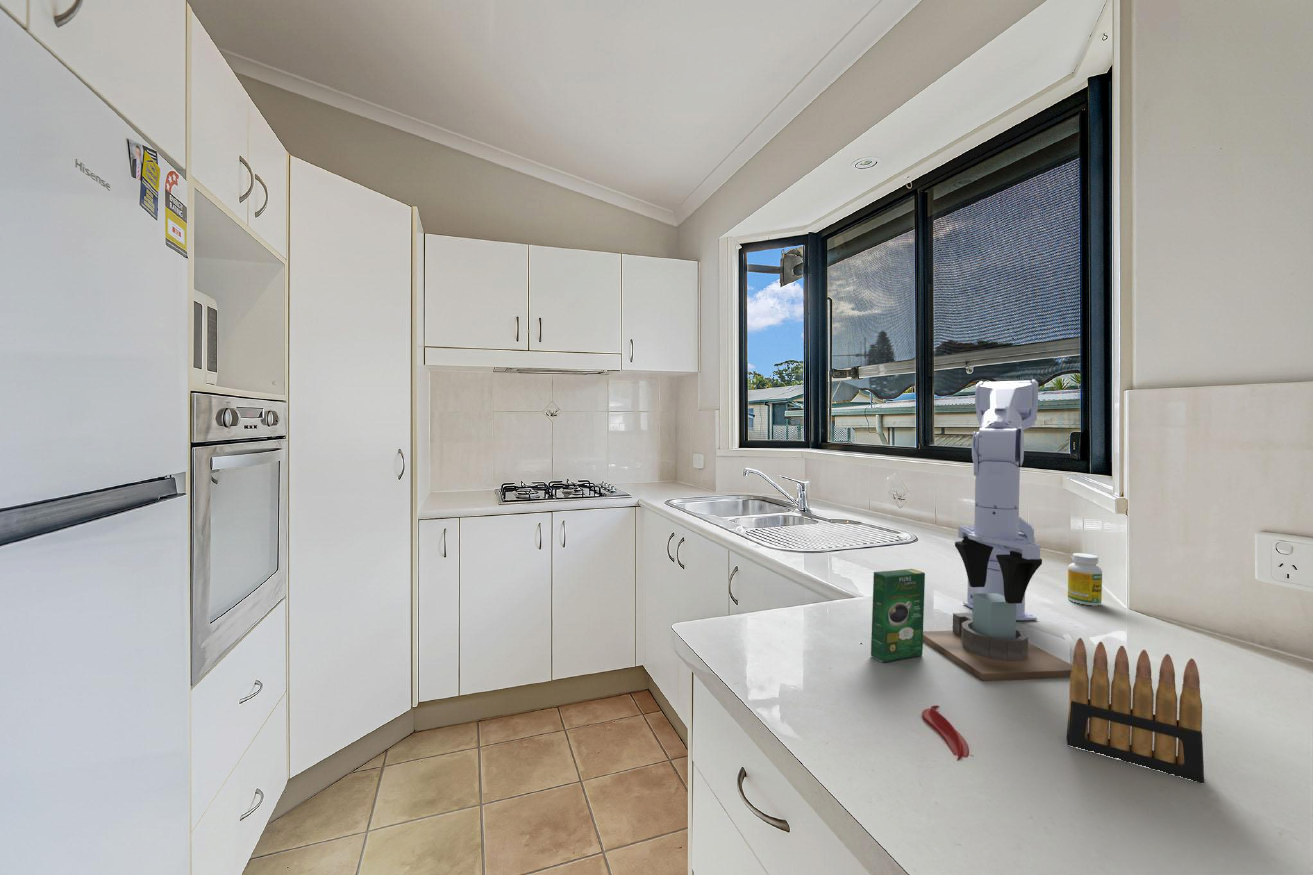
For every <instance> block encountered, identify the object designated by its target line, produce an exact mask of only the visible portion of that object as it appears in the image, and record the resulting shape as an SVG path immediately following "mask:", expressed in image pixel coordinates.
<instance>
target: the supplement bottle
mask: <svg viewBox="0 0 1313 875" xmlns="http://www.w3.org/2000/svg"><path fill="white" fill-rule="evenodd" d="M1098 564H1099V556H1098V555H1095V554H1090V553H1084V552H1082V553H1081V552H1074V553H1072V563H1070V564H1069V565H1068V568H1067V570H1068V571H1067V600H1069V601H1070V600H1071V601H1074V602H1076V603H1075V604H1077V603H1080V604H1079V605H1081V604H1087V605H1092V606H1091V607H1099V606H1101V605H1102V595H1103V594H1102V592H1103V570H1102V568H1101V567H1100V566H1098ZM1071 601H1070V602H1071ZM1074 602H1073V603H1074ZM1098 605H1099V606H1098Z"/></svg>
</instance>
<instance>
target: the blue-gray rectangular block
mask: <svg viewBox="0 0 1313 875" xmlns="http://www.w3.org/2000/svg"><path fill="white" fill-rule="evenodd" d="M972 614H973V624H972V630H973V631H975V632H977V633H980V634H983V635H986V636H990V637H996V638H1002V639H1016V628H1017V620H1016V603H1014V604H1009V603H1007V602H1006V601H1005V597H1004V596H1002V595H1000V594H998V593H982V594H973V609H972Z"/></svg>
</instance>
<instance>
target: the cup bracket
mask: <svg viewBox="0 0 1313 875" xmlns="http://www.w3.org/2000/svg"><path fill="white" fill-rule="evenodd" d="M972 624H973V612H956V613H954V612H952V630H933V631H932V630H929V631H924V630H923V643H926V644H928V645H929V646H930V647H932V648H933V649H934V650H936V651H938V652H939V653H941V654H942V655H944V656H945V657H946V658H948V659H949V660H951V661H953V663H955V664H957V665H958V666H960V667H961V668H963V669H964V670H966V671H967V672H968V673H970V674H972V675H973V676H974V677H976V678H977V679H979V680H981V681H983V682H987V681H989V682H990V681H991V682H992V681H1011V680H1033V679H1034V680H1037V679H1038V680H1039V679H1055V678H1056V679H1059V678H1060V679H1061V678H1070V674H1071V671H1072V664H1071V663H1070V662H1067V661H1066V660H1063V659H1062V658H1060V657H1058V656H1056V655H1054V654H1052V653H1050V652H1048V651H1046V650H1044V649H1043V648H1041V647H1038V646H1036V645H1035V644H1032V643H1030V641H1029V636H1028V634H1027V633H1026V631H1024V630H1022V629H1020V628H1018V627H1016V639H1002V638H996V637H990V636H986V635H983V634H980V633H977V632H975V631H973V630H972Z"/></svg>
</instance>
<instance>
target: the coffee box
mask: <svg viewBox="0 0 1313 875" xmlns="http://www.w3.org/2000/svg"><path fill="white" fill-rule="evenodd" d="M872 578H873V581H872V582H873V583H872V584H873V585H872V608H871V609H872V610H871V611H872V612H871V616H872V617H871V641H870V657H872V658H873V659H874V660H875V659H876V661H878V662H881V663H886V662H894V661H897V660H902V659H903V660H904V659H909V658H916V657H919V656H923V649H924V641H923V631H924V616H925V614H924V613H925V588H926V587H925V585H926V584H925V582H926V581H925V580H926V573H925V572H923V571H921V570H917V569H914V568H908V569H898V570H897V569H896V570H886V571H884V570H883V571H874V572H873V576H872Z"/></svg>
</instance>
